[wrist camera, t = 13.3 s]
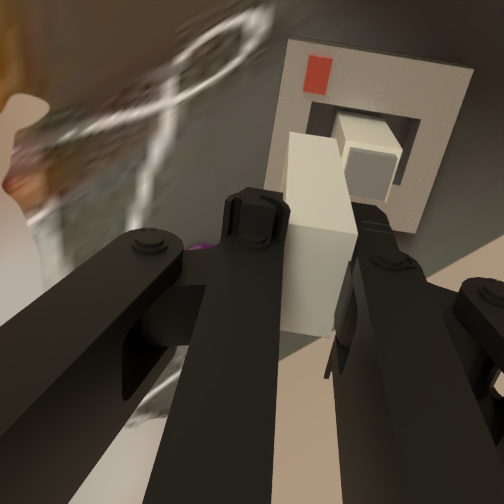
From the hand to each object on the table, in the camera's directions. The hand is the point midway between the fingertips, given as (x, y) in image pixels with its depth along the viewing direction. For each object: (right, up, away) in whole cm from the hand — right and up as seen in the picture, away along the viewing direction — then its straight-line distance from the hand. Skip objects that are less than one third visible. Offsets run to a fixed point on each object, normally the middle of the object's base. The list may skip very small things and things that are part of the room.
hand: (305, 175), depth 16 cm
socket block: (+8, +9, +31) cm, 34 cm away
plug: (+8, +9, +31) cm, 34 cm away
